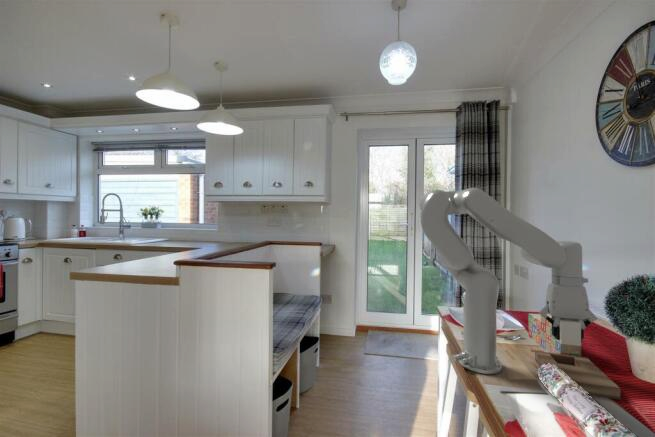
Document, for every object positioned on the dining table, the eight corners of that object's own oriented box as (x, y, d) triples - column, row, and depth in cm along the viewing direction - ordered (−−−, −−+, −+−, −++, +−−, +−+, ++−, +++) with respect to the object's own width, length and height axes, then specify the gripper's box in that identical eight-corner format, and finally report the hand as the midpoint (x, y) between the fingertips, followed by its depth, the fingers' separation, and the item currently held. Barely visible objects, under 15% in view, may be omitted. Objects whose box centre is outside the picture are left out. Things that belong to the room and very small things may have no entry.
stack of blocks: (527, 336, 119) (527, 305, 119) (545, 337, 118) (545, 306, 118) (560, 362, 98) (560, 325, 98) (582, 363, 97) (582, 326, 97)
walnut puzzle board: (620, 399, 78) (620, 388, 78) (556, 389, 83) (556, 378, 83) (586, 366, 95) (586, 357, 95) (535, 359, 100) (535, 350, 99)
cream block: (581, 346, 90) (580, 322, 90) (561, 343, 91) (560, 321, 91) (573, 339, 94) (573, 317, 94) (554, 337, 96) (554, 315, 96)
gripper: (594, 280, 93) (595, 337, 94) (531, 277, 99) (531, 331, 99) (607, 285, 86) (608, 348, 86) (538, 282, 92) (539, 340, 92)
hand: (567, 338), depth 93 cm, fingers closed on cream block, 5 cm apart
